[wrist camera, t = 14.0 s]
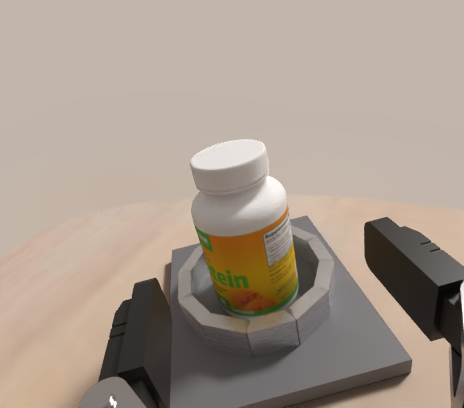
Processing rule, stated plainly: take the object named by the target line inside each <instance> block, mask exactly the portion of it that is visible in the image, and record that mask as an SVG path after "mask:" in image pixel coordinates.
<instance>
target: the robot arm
mask: <svg viewBox="0 0 464 408" xmlns="http://www.w3.org/2000/svg"><path fill="white" fill-rule="evenodd" d="M364 245H365V259H366V263H367V265H368V267H369V269H370V270H371V271H372V273H373V274H374V275H375V276H376V277H377V279H378V280H379V281H380V282H381V283H382V284H383V286H384V287H385V288H386V289H387V290H388V292H389V293H390V294H391V295H392V296H393V297H394V299H395V300H396V301H397V302H398V303H399V304H400V306H401V307H402V308H403V309H404V310H405V312H406V313H407V314H408V315H409V316H410V317H411V319H412V320H413V321H414V322H415V323H416V325H417V326H418V327H419V328H420V329H421V330H422V332H423V333H424V334H425V335H426V336H427V337H428V339H429V340H430V341H434V340H437V339H441V338H445V339H446V340H447V341H448V342H449V343H450V346H449V367H450V391H451V408H464V266H463V265H461V264H460V263H459V262H457V261H456V260H455V259H454V258H452V257H451V256H450V255H448V254H447V253H446V252H445V251H443V250H440V248H439V247H438V246H437V245H436V244H434V243H431V241H430V240H429V239H428V238H427V237H425V236H424V235H423V234H421V233H420V232H418V231H415V230H413V229H410V228H408V227H405V226H404V227H399V226H398V225H397V224H396V223H394V222H393V221H392V220H391V219H389V218H388V217H384V218H381V219H377V220H373V221H369V222H366V223H365V226H364ZM109 337H110V339H109V340H108V344H107V348H106V352H105V356H104V360H103V364H102V369H101V373H100V377H99V381H98V383H97V384H95V385H94V386H93V387H92V388H91V389H90V390H89V391H88V392H87V393H86V394H85V396H84V397H83V398H82V400H81V402H80V404H79V406H78V408H170V385H171V351H172V316H171V311H170V308H169V305H168V303H167V301H166V298H165V296H164V294H163V291H162V289H161V287H160V284H159V282H158V280H157V279H156V278H153V279H149V280H145V281H141V282H138V283H135V285H134V288H133V293H132V299H129V300H125V301H123V302H122V304H121V305H120V307H119V308H118V310H117V311H116V313H115V316H114V320H113V324H112V329H111V332H110V336H109Z"/></svg>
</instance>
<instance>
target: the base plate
mask: <svg viewBox="0 0 464 408" xmlns="http://www.w3.org/2000/svg"><path fill="white" fill-rule="evenodd" d="M290 223H291V225H292V226H295V227H297V228H299V229H302V230H304V231H306V232H309V233H311V234H313V235H316V236H317V237H318V238H319V239H320V241H321V242H322V244H323V245H324V247H325V248H326V249H327V251H328V252H329V254H330V255H331V256H332V258H333V260H334V276H335V288H334V295H333V302H332V309H331V316H330V317H329V318H328V319H327V320H326V321H325V322H324V323H323V324H322V325H321V326H320V327H319V328H318V329H317V330H316V331H315V332H314V333H313V334H312V335H311V336H310V337H309V338H308V339H307V340H306V341H305V342H304V343H303V344H302V345H300V344H299V345H300V346H297V347H294V348H290V349H286V350H283V351H279V352H275V353H272V354H268V355H264V356H260V357H257V358H254V357H253V358H249V357H245V356H240V355H236V354H232V353H228V352H223V351H219V350H215V349H211V348H209V347H208V345H207V344H206V343H205V342H204V341H203V340H202V339H201V338H200V337H199V336H198V334H197V333H196V332H195V331H194V330H193V329H192V328H191V327H190V326H189V324H188V323H187V321H186V318H185V316H184V313H183V311H182V308H181V306H180V303H179V301H178V273H179V271H180V269H181V268H182V267H183V265H184V264H185V263H186V261H187V260H188V258H189V257H190V256H191V254H192V253H193V251H194V250H195V249H196V248H197V247H198V246H200V245H201V244H200V243H199V244H195V245H191V246H187V247H183V248H179V249H175V250H172V265H171V286H170V307H169V308H170V311H171V316H172V351H171V385H170V408H283V407H287V406H291V405H294V404H298V403H301V402H305V401H309V400H312V399H316V398H320V397H323V396H327V395H330V394H334V393H338V392H341V391H345V390H348V389H352V388H356V387H359V386H363V385H366V384H370V383H374V382H377V381H381V380H385V379H388V378H392V377H395V376H399V375H403V374H406V373H410V372H411V366H412V359H411V357H410V356H409V354H408V353H407V352H406V350H405V349H404V348H403V346H402V345H401V343H400V342H399V341H398V339H397V338H396V337H395V335H394V334H393V333H392V331H391V330H390V328H389V327H388V326H387V324H386V323H385V322H384V320H383V319H382V317H381V316H380V315H379V313H378V312H377V311H376V309H375V308H374V307H373V305H372V304H371V302H370V301H369V300H368V298H367V297H366V296H365V294H364V293H363V292H362V290H361V289H360V287H359V286H358V285H357V283H356V282H355V281H354V279H353V278H352V276H351V275H350V274H349V272H348V271H347V270H346V268H345V267H344V266H343V264H342V263H341V261H340V260H339V259H338V257H337V256H336V255H335V253H334V252H333V250H332V249H331V248H330V246H329V245H328V244H327V242H326V241H325V240H324V238H323V237H322V235H321V234H320V233H319V231H318V230H317V229H316V227H315V226H314V225H313V223H312V222H311V220H310V219H309V218H308V216H303V217H299V218H295V219H291V220H290ZM295 260H296V267H297V274H298V292H297V296H296V298H295V300H294V301H293V303H292V304H294V303H295V302H296V301H297V300H298V299H299V298H301V297H302V296H303V295H304V294H305V293H306V292H307V291H309V290H310V289H311V288H312V287H313V286H314V283H315V278H316V274H315V272H314V271H313V269H312V267H311V266H310V264H309V263H307V262H305V261H303V260H301V259H299V258H297V257H295ZM198 300H199V302H200V303H201V304H202V305H203V306H204V307H205V308H206V309H207V310H208V311H209V312H210V313H213V314H218V315H224V316H230V317H233V316H231V315H229V314H228V313H227V312H226V311H225V310H224V309H223V308H222V306H221V305H220V303H219V301H218V298H217V295H216V292H215V289H214V285H213V282H212V279H211V276H210V274H209V276H208V277H207V279H206V281H205V282H204V284H203V286H202V287H201V289H200V291H199V292H198ZM292 304H291V305H292ZM291 305H290V306H291ZM290 306H289V307H290ZM289 307H288V308H289ZM288 308H287V309H288Z"/></svg>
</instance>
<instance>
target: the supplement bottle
mask: <svg viewBox="0 0 464 408" xmlns="http://www.w3.org/2000/svg"><path fill="white" fill-rule="evenodd" d="M190 166H191V170H192V174H193V178H194V181H195V184H196V187H197V189H198V190H199V191H200V192H199V193H198V195H196V197H195V199H194V201H193V203H192V208H191V213H192V218H193V222H194V225H195V228H196V231H197V234H198V237H199V240H200V244H201V247H202V250H203V253H204V256H205V259H206V263H207V266H208V269H209V272H210V276H211V279H212V282H213V285H214V289H215V292H216V295H217V298H218V301H219V303H220V305H221V306H222V308H223V309H224V310H225V311H226V312H227V313H228V314H229V315H231V316H233V317H235V318H241V319H246V320H248V319H252V318H256V317H259V316H263V315H267V314H271V313H274V312H278V311H282V310H286V309H287V308H288V307H289V306H290V305H291V304H292V303H293V301H294V300H295V298H296V296H297V292H298V274H297V267H296V260H295V252H294V245H293V238H292V231H291V223H290V216H289V208H288V201H287V196H286V192H285V190H284V188H283V186H282V185H281V184H280V183H279V182H278V181H277V180H276V179H274V178H272V177H270V176H268V174H269V162H268V157H267V152H266V148H265V145H264V144H263V143H262V142H259V141H256V140H249V139H248V140H247V139H241V140H233V141H228V142H223V143H219V144H216V145H213V146H210V147H208V148H206V149H203V150H202V151H200V152H198V153H197V154H196V155H195V156H193V158H192V159H191V161H190Z"/></svg>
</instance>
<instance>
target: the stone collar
mask: <svg viewBox="0 0 464 408" xmlns="http://www.w3.org/2000/svg"><path fill="white" fill-rule="evenodd" d="M291 231H292V238H293V245H294V252H295V257H297V258H299V259H301V260H303V261H305V262H307V263H309V264H310V266H311V267H312V269H313V271H314V272H315V274H316V278H315V283H314V286H313V287H312V288H311V289H310V290H309V291H307V292H306V293H305V294H304V295H303V296H302V297H301V298H299V299H298V300H297V301H296V302H295V303H294V304H292V305H291V306H290V307H289V308H288V309H286V310H282V311H278V312H274V313H271V314H267V315H263V316H259V317H256V318H252V319H248V320H246V319H241V318H235V317H230V316H224V315H218V314H213V313H210V312H209V311H208V310H207V309H206V308H205V307H204V306H203V305H202V304H201V303H200V302H199V300H198V292H199V291H200V289H201V287H202V286H203V284H204V282H205V281H206V279H207V277H208V276H209V274H210V272H209V269H208V266H207V263H206V259H205V256H204V253H203V250H202V247H201V245H200V246H198V247H197V248H196V249H195V250H194V251H193V253H192V254H191V256H190V257H189V258H188V260H187V261H186V263H185V264H184V265H183V267H182V268H181V269H180V271H179V273H178V301H179V303H180V306H181V308H182V311H183V313H184V316H185V318H186V321H187V323H188V324H189V326H190V327H191V328H192V329H193V330H194V331H195V332H196V333H197V334H198V336H199V337H200V338H201V339H202V340H203V341H204V342H205V343H206V344H207V345H208V347H209V348H211V349H215V350H219V351H223V352H228V353H232V354H236V355H240V356H245V357H249V358H253V357H254V358H257V357H260V356H264V355H268V354H272V353H275V352H279V351H283V350H286V349H290V348H294V347H297V346H300V345H302V344H303V343H304V342H305V341H306V340H307V339H308V338H309V337H310V336H311V335H312V334H313V333H314V332H315V331H316V330H317V329H318V328H319V327H320V326H321V325H322V324H323V323H324V322H325V321H326V320H327V319H328V318H329V317H330V316H331V309H332V302H333V295H334V288H335V276H334V260H333V258H332V256H331V255H330V254H329V252H328V251H327V249H326V248H325V247H324V245H323V244H322V242H321V241H320V239H319V238H318V237H317V236H316V235H313V234H311V233H309V232H306V231H304V230H302V229H299V228H297V227H295V226H292V225H291ZM299 344H300V345H299Z"/></svg>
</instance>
